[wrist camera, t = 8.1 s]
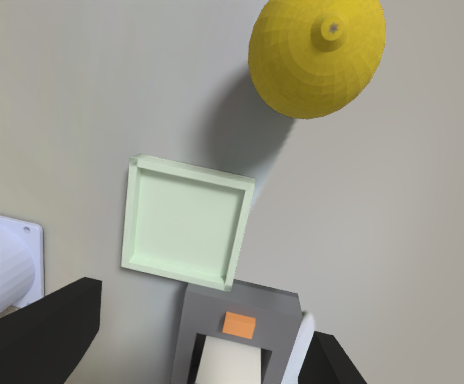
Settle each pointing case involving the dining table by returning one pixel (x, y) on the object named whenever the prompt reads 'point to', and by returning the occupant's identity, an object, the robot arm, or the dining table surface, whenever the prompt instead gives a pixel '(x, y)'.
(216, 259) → the tray
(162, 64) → the dining table surface
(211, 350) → the plug
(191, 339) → the power strip
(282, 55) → the lemon
